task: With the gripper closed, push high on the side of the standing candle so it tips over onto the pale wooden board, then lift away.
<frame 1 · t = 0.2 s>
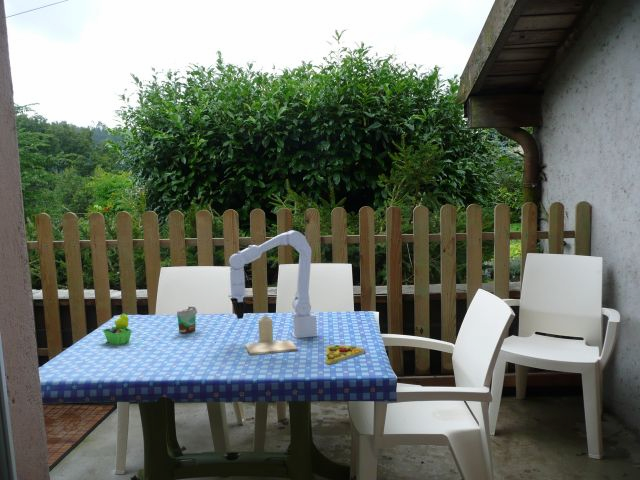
hand: (239, 316, 229), 10 cm above the table, fingers open, 7 cm apart
candle: (266, 341, 227), on the table
food container: (190, 331, 248), on the table
fruit basket: (119, 342, 233), on the table
pizza slice: (337, 359, 203), on the table
board: (270, 348, 216), on the table
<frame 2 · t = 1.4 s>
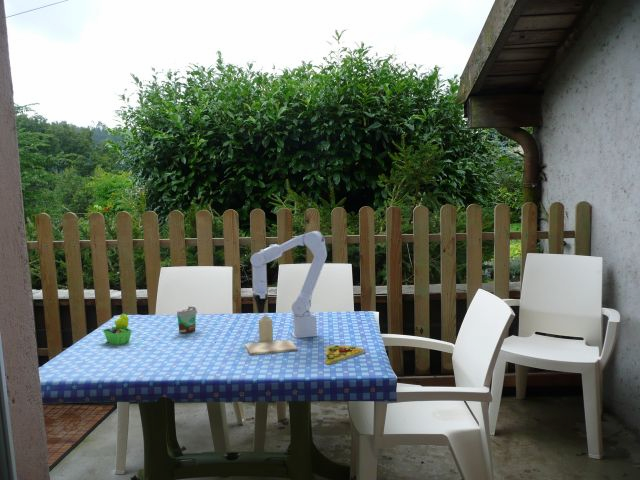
hand: (260, 312, 238), 9 cm above the table, fingers closed
nothing on the table moved.
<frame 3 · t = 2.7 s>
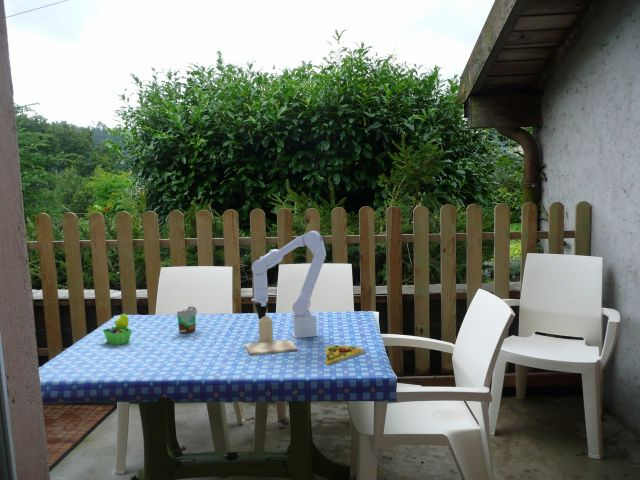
hand: (261, 320, 237), 6 cm above the table, fingers closed
nothing on the table moved.
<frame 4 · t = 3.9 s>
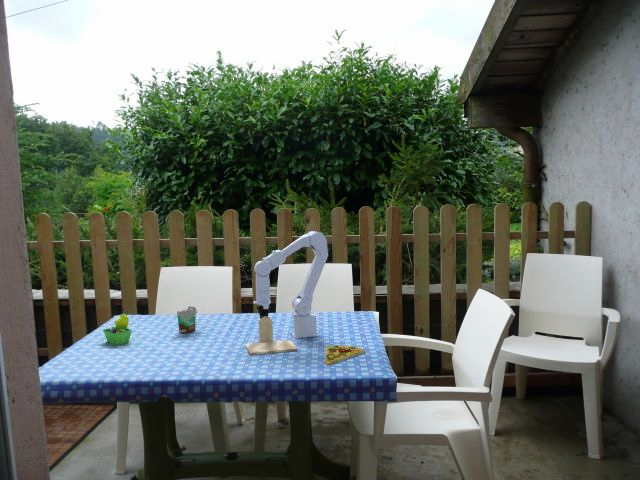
hand: (264, 323, 230), 7 cm above the table, fingers closed
candle: (266, 341, 227), on the table, touching gripper
everything else where it was.
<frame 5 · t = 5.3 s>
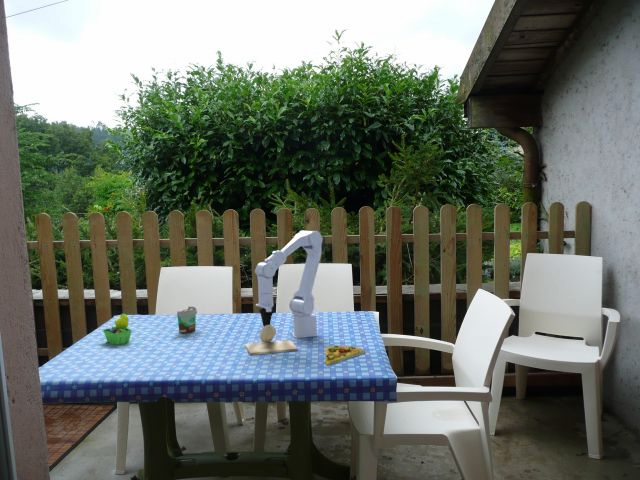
hand: (266, 326, 223), 7 cm above the table, fingers closed
candle: (266, 336, 226), point 2 cm above the table, touching board, gripper
everything else where it was.
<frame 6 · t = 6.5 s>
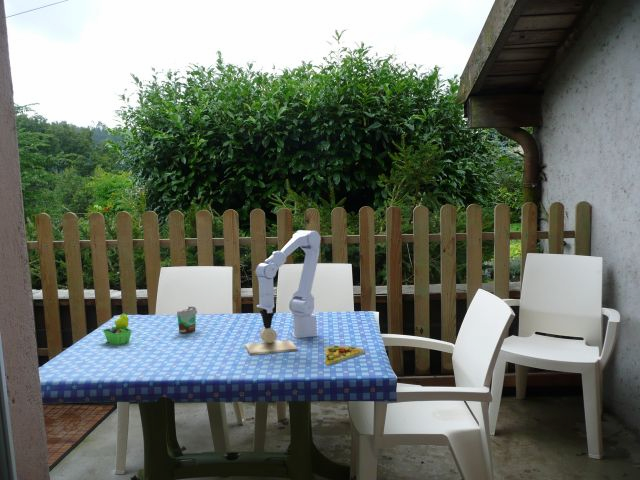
hand: (267, 327, 222), 7 cm above the table, fingers closed
candle: (266, 334, 225), point 3 cm above the table, touching board, gripper
everything else where it was.
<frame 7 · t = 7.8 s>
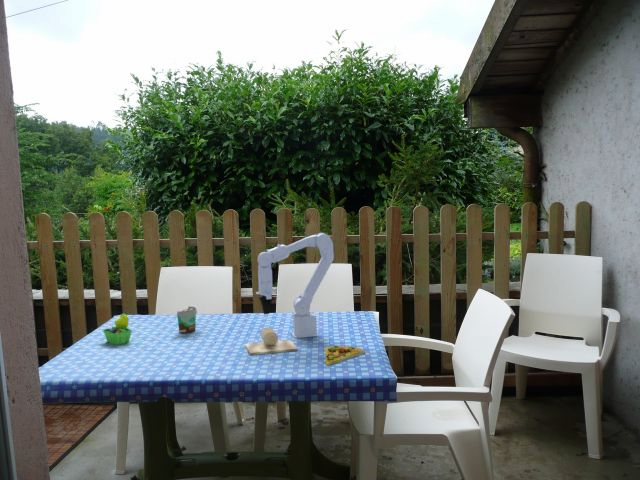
hand: (266, 313, 233), 10 cm above the table, fingers closed
candle: (267, 333, 225), point 4 cm above the table, touching board
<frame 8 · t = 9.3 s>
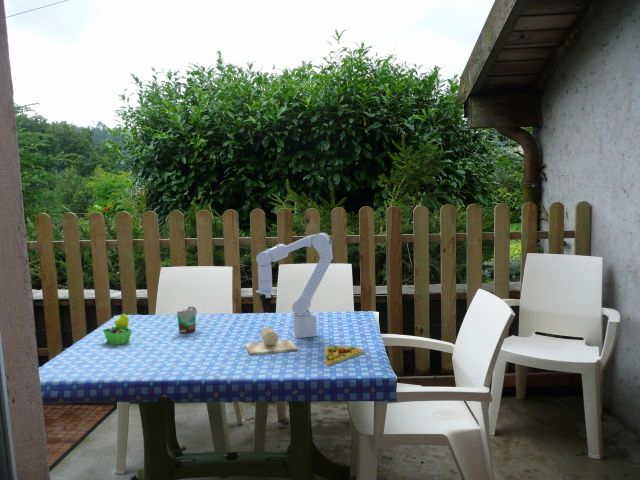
hand: (266, 312, 237), 10 cm above the table, fingers closed
at the end: candle tilted 90°; candle touching board; candle inside the target area (6.7 cm from its centre), point 3.5 cm above the table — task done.
